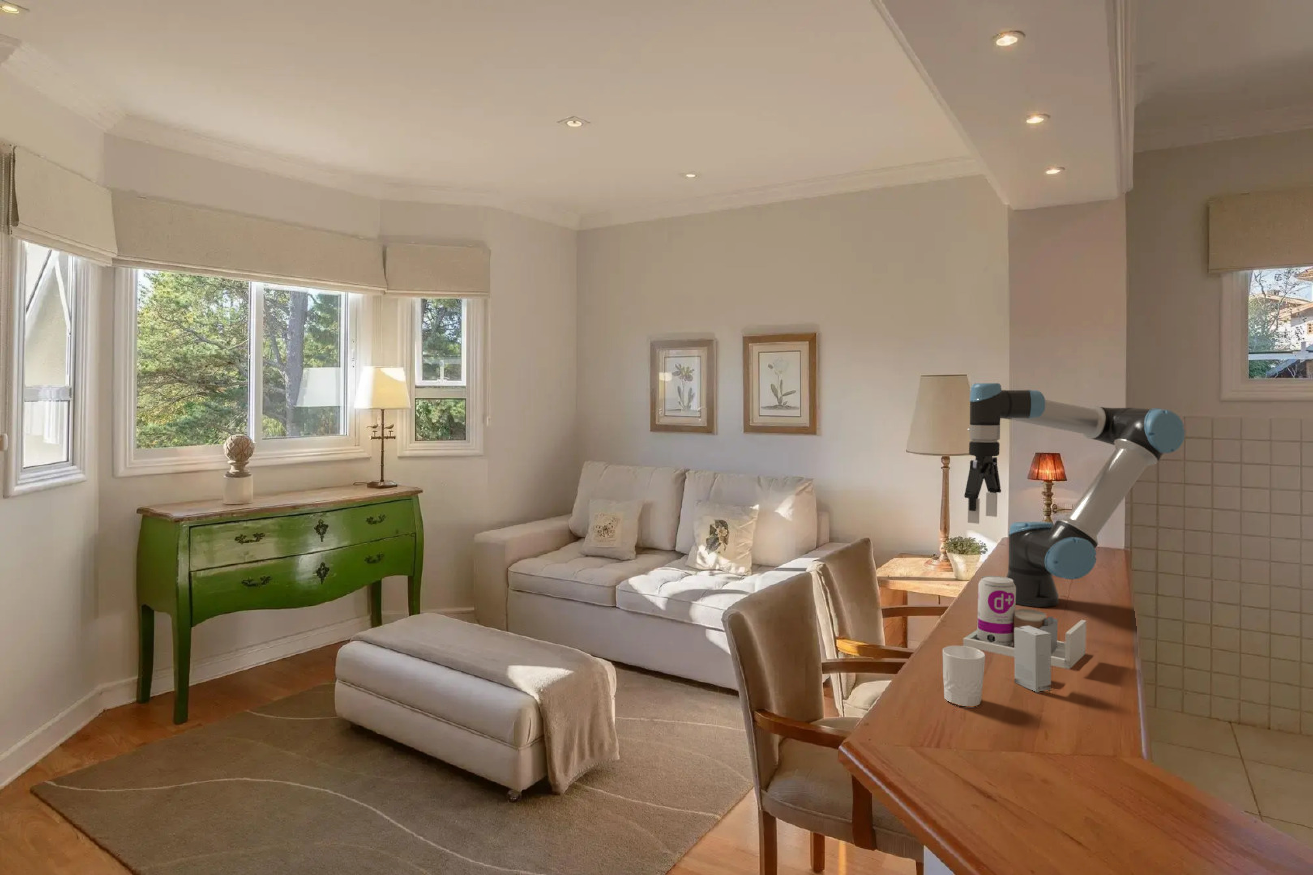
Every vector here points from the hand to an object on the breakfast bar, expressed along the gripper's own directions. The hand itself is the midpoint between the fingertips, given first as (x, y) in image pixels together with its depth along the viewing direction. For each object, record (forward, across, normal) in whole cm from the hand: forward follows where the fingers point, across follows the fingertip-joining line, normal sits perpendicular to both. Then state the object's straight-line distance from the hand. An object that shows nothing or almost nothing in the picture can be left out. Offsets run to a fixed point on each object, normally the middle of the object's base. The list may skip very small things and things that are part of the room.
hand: (982, 519), depth 211 cm
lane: (+27, +24, +18) cm, 40 cm away
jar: (+25, +24, +20) cm, 40 cm away
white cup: (+27, +60, +17) cm, 68 cm away
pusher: (+25, +24, +24) cm, 42 cm away
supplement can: (+25, +24, +12) cm, 37 cm away
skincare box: (+27, +43, +26) cm, 57 cm away
